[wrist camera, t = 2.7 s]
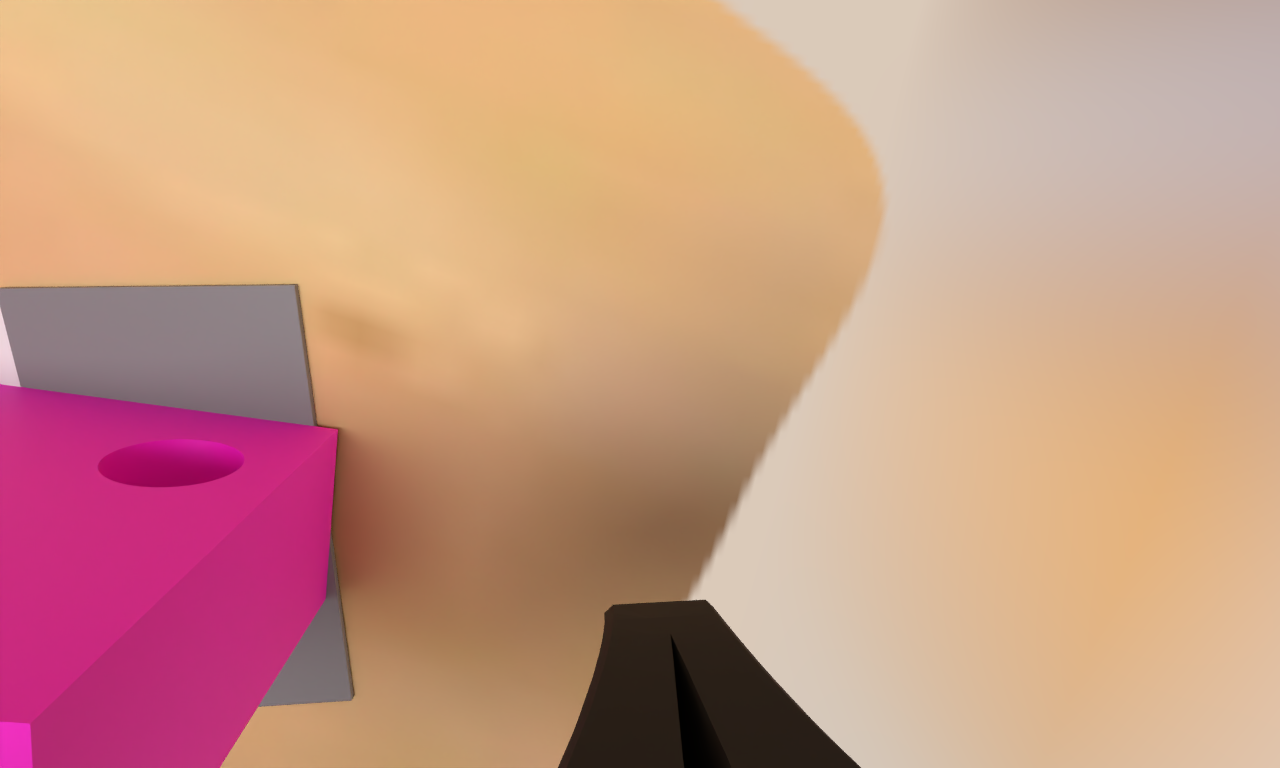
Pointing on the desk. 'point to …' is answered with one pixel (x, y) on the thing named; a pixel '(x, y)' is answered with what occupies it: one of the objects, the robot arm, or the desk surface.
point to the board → (185, 392)
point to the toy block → (150, 575)
